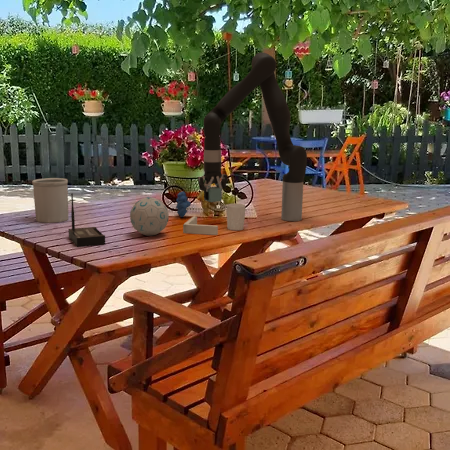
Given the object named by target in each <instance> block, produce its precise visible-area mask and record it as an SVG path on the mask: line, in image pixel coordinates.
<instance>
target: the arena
mask: <svg viewBox="0 0 450 450" xmlns="http://www.w3.org/2000/svg"><path fill="white" fill-rule="evenodd" d="M182 231H183V232H182V233H183V234H193V235H207V236H208V235H209V236H218V235H219V225H214V224H213V225H211V224H198V216H196V215H193V216H191V218H189V219H188V220H186V222H184V224H183V225H182Z"/></svg>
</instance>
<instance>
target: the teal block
mask: <svg viewBox="0 0 450 450" xmlns="http://www.w3.org/2000/svg"><path fill="white" fill-rule="evenodd" d="M222 191H223V189H222V188H219V187H216V186H211V187H210V188H209V191H208V192H209V200H205V199H203V200H204V201H205V202H208V203H216V202H222V200H223V199H222V196H223V195H222V193H223V192H222Z"/></svg>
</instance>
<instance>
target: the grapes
mask: <svg viewBox="0 0 450 450" xmlns="http://www.w3.org/2000/svg"><path fill="white" fill-rule="evenodd" d="M188 199H189V198H188V196H187V194H186V192H185V191H180V192H179V193H177V198H176V200H175V201H176V202H177V203H176V206H175V208H176V209H177V211H176V213H177V215H178V216H179V217H180V218H184V217H185V216H186V214H187V213H188V210H187V209H188V208H189V207H190V206H191V204H192V203H191V202H190V201H189V200H188Z"/></svg>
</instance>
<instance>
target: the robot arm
mask: <svg viewBox="0 0 450 450" xmlns="http://www.w3.org/2000/svg"><path fill="white" fill-rule="evenodd" d="M276 61H277V60H276V59H275V58H274V57H273V56H272V55H270V54H268V53H266V52H257V53H256V54H255V55H254V56H253V57H252V59H251V70H250V71H249V72H248V74H247V75H246V76H244V78H243V79H242V80H241V81H239V82H238V83H237V84H235V85H234V86H233V87H232V88H230V89H229V91H227V92H226V93H225V94H224V95H223V97H222V98H221V99H220V100H219V101H218V103H217V104H216V105H215V106H214V107H213V108H212V109H211V110H210V111H209V112H208V113H207V114H206V115H205V116H204V119H203V133H204V134H203V135H204V142H203V145H204V146H203V149H204V150H203V151H204V152H203V173H204V174H203V175H201V176H197V183H198V187H199V190H201V191H203V198H204V199H205V200H209V192H208V191H209V188H210V187H212V185H215V187H219V188H222V190H223V189H226V188H227V182H228V174H225V173H222V151H221V149H222V148H221V147H222V146H221V145H222V143H221V141H222V140H221V125H222V124H223V122H224V121H225V119H226V118H227V117H228V116H230V115H231V114H232V113H233V112H234V111H235V110H236V109H237V108H238V106H239V105H241V103H242V102H243V101H244V100H245V99H246V97H248V96H249V95H250V94H251V93H252V92H253V91H254V90H255V89H256V88H257V87H258V86H259V87H260V91H261V94H262V95H261V96H262V97H263V102H264V107H265V110H266V113H267V115H268V116H267V117H268V119H269V122H270V125H271V128H272V130H273V135H274V137H275V141H276V145H277V151H278V155H279V158H280V161H281V162H282V163H283V164H284V165H286V166H288V167H289V168H288V171H287V173H284V174H283V175H282V190H281V191H282V192H281V216H280V219H281V220H282V221H287V222H298V221H302V220H303V199H304V181H305V180H304V179H305V176H306V172H307V162H308V156H307V155H308V153H307V150H306V148H305V147H304V146H302V145H297V144H293V141H292V139H291V138H292V137H291V135H290V126H291V121H292V120H291V111H290V108H289V105H288V102H287V100H286V98H285V95H284V94H283V91H282V89H281V88H280V85H279V84H278V82H277V78H276V74H275V71H276V69H277V62H276ZM204 199H203V200H204ZM205 200H204V201H205Z"/></svg>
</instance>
